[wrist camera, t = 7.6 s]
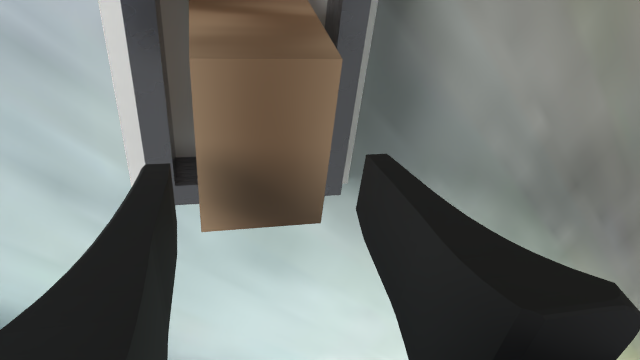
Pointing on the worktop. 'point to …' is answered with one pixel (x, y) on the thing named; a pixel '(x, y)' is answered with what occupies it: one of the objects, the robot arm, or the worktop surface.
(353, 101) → the grey tray
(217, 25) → the plug block
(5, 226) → the worktop surface
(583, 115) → the worktop surface
